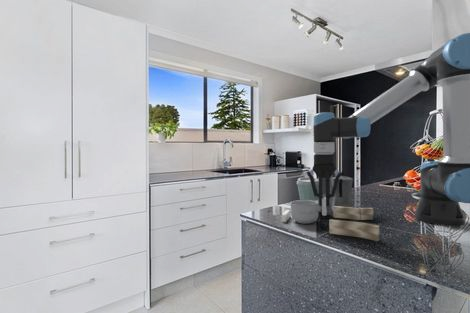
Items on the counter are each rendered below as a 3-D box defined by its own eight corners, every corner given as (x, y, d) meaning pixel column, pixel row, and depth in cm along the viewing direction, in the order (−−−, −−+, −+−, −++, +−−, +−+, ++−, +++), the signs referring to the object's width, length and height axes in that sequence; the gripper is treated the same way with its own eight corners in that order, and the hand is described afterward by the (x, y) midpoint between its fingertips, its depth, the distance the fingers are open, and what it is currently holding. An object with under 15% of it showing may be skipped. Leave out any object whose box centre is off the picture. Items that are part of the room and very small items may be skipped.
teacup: (299, 227, 93) (298, 205, 93) (285, 219, 104) (285, 199, 103) (331, 223, 97) (331, 202, 97) (315, 216, 107) (315, 197, 107)
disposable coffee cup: (325, 212, 112) (325, 179, 112) (303, 214, 110) (303, 180, 109) (313, 207, 123) (312, 176, 122) (292, 208, 120) (292, 177, 120)
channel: (372, 218, 102) (372, 207, 102) (379, 241, 78) (379, 227, 78) (333, 215, 108) (333, 204, 108) (328, 235, 84) (328, 222, 84)
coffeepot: (332, 206, 123) (332, 170, 122) (353, 208, 119) (353, 170, 118) (328, 214, 109) (328, 173, 109) (352, 217, 105) (352, 174, 104)
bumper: (290, 216, 107) (290, 209, 107) (285, 222, 100) (285, 214, 99) (286, 216, 108) (286, 209, 107) (281, 221, 100) (281, 214, 100)
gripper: (305, 154, 95) (305, 215, 96) (342, 153, 90) (342, 218, 91) (308, 153, 102) (308, 210, 103) (342, 153, 97) (342, 213, 98)
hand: (324, 214), depth 97 cm, fingers closed
